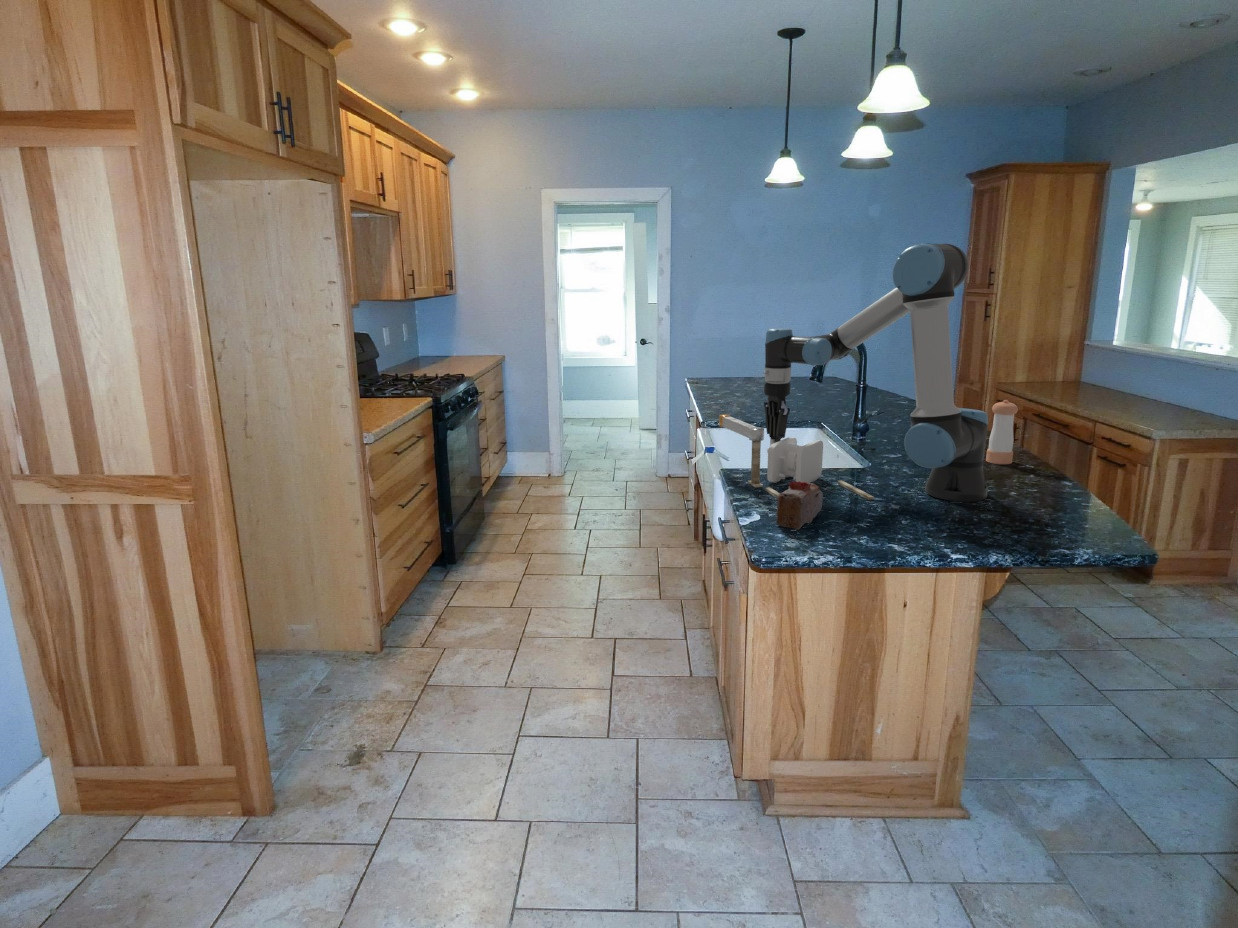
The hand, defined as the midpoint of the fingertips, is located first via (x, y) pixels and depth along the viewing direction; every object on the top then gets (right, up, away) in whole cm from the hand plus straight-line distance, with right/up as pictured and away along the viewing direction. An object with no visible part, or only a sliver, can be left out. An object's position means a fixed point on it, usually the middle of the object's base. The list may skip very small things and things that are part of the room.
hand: (774, 459), depth 222 cm
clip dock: (+5, -9, -21) cm, 23 cm away
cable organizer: (+3, -7, -11) cm, 13 cm away
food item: (-3, -15, -43) cm, 46 cm away
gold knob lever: (-12, +8, -8) cm, 16 cm away
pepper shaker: (+70, -1, +4) cm, 70 cm away
